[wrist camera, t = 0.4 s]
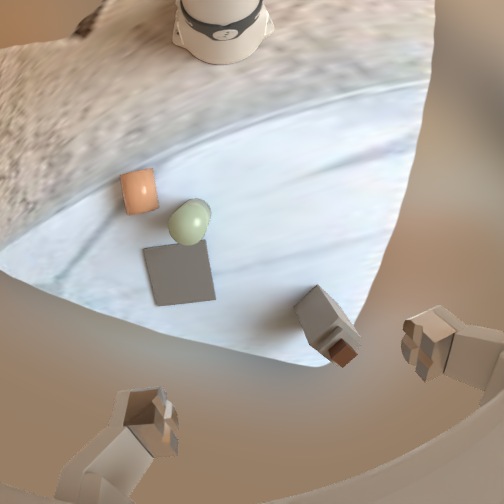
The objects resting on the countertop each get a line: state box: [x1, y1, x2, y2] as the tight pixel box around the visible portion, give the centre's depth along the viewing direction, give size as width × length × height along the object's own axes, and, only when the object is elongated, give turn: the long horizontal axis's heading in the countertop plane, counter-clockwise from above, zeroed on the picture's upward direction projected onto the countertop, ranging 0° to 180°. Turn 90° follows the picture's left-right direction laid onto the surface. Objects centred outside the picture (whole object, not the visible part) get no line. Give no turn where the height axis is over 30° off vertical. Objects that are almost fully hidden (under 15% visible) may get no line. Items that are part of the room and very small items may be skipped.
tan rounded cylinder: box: [120, 168, 159, 215], centre depth 48 cm, size 7×6×6 cm
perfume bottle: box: [294, 285, 361, 367], centre depth 51 cm, size 7×7×18 cm
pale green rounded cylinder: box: [168, 198, 211, 245], centre depth 47 cm, size 6×6×11 cm
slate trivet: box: [144, 240, 216, 306], centre depth 55 cm, size 12×12×1 cm
